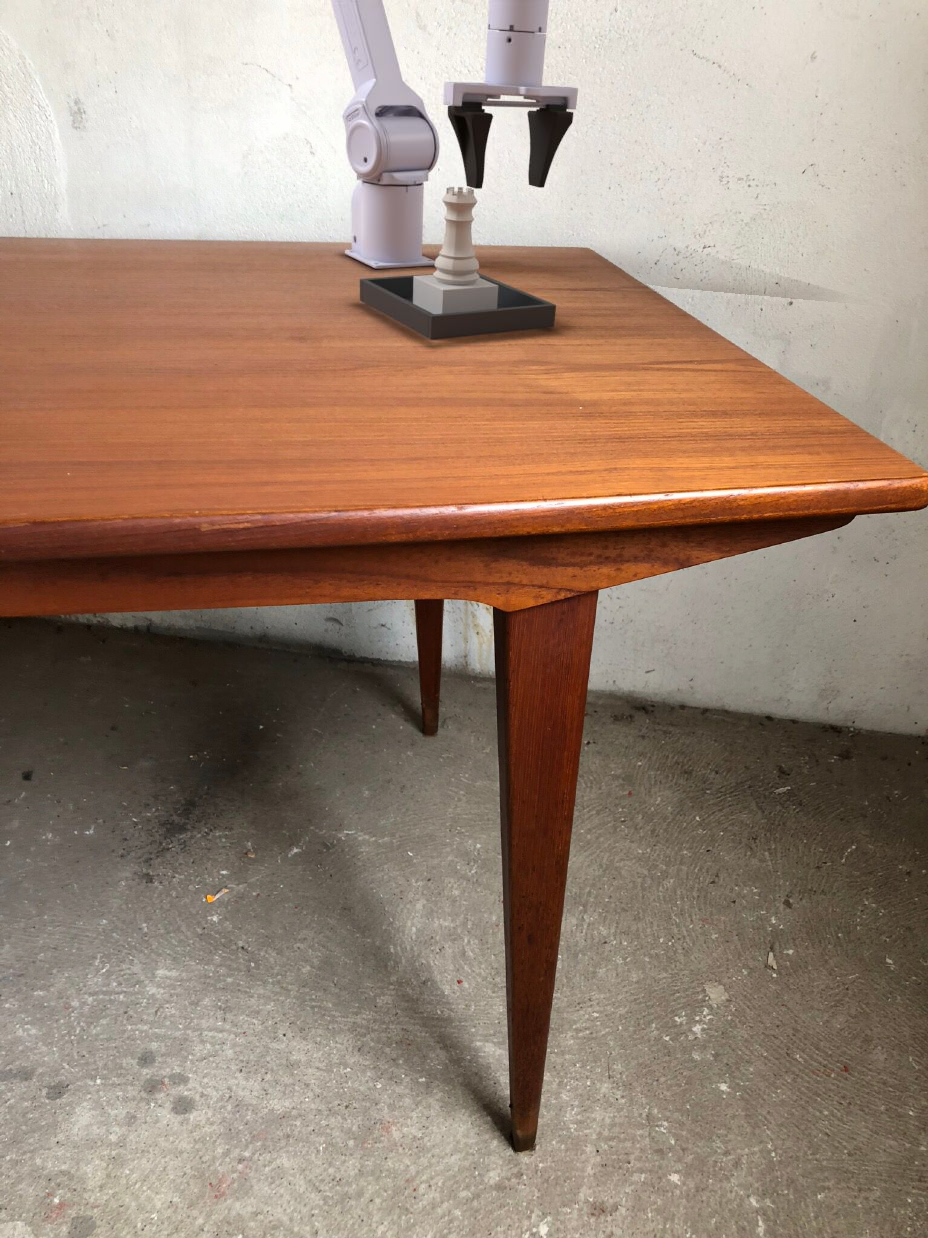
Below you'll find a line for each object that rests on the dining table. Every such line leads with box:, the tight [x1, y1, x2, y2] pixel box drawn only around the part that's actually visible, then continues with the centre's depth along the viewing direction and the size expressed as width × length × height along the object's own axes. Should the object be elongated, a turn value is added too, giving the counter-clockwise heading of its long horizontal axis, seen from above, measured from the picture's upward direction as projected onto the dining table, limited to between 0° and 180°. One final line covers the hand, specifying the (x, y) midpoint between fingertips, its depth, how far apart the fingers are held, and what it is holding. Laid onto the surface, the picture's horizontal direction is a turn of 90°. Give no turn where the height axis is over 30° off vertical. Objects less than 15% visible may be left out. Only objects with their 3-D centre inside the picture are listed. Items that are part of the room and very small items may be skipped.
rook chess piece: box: [432, 186, 480, 285], centre depth 85 cm, size 4×4×8 cm
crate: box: [359, 271, 557, 341], centre depth 88 cm, size 15×13×3 cm
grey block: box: [413, 274, 498, 314], centre depth 87 cm, size 6×6×3 cm
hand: (505, 186), depth 95 cm, fingers open, 7 cm apart
